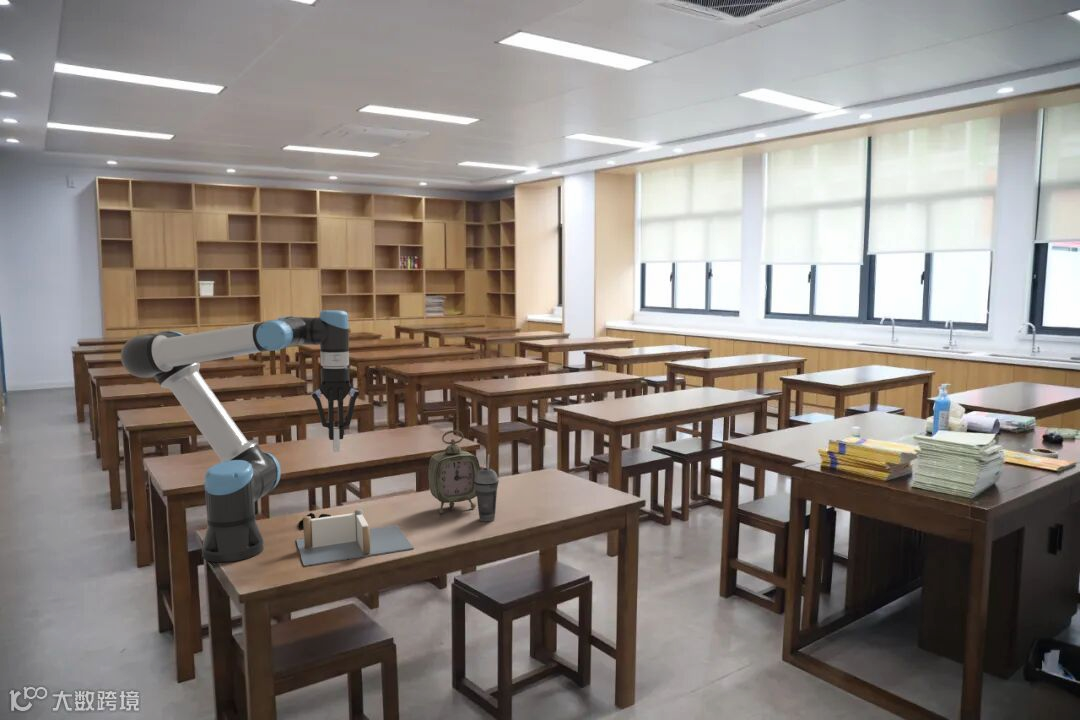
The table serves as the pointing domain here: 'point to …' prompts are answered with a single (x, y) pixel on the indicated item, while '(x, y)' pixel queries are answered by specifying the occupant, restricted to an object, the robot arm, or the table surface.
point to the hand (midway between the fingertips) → (336, 450)
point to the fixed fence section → (330, 529)
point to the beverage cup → (486, 492)
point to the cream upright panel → (363, 533)
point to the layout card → (356, 547)
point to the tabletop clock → (453, 474)
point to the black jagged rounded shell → (300, 524)
